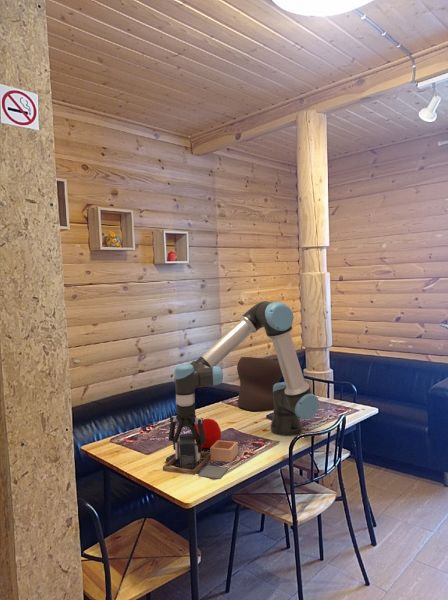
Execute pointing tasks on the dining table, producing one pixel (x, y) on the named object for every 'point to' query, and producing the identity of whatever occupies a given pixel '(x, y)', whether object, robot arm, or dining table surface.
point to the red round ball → (210, 432)
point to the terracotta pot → (224, 451)
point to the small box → (187, 451)
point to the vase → (257, 383)
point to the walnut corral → (186, 471)
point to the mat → (213, 472)
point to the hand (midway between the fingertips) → (188, 458)
